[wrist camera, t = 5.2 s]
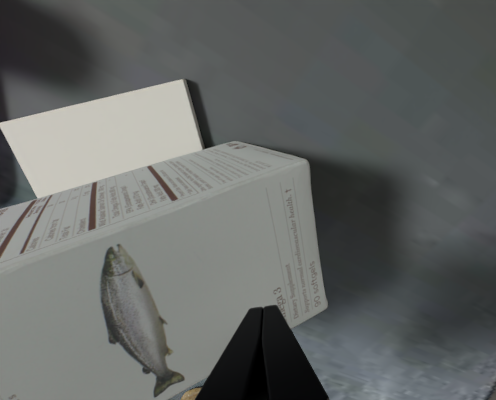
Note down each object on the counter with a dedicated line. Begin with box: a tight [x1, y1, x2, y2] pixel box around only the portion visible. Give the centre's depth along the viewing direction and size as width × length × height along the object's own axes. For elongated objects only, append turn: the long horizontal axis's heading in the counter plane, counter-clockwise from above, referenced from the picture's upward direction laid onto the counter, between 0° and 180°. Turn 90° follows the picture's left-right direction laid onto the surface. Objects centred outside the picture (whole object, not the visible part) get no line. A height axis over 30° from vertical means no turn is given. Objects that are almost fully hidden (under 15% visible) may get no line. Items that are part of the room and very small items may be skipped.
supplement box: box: [0, 141, 328, 400], centre depth 13 cm, size 7×7×13 cm
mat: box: [0, 79, 205, 198], centre depth 19 cm, size 11×14×1 cm
